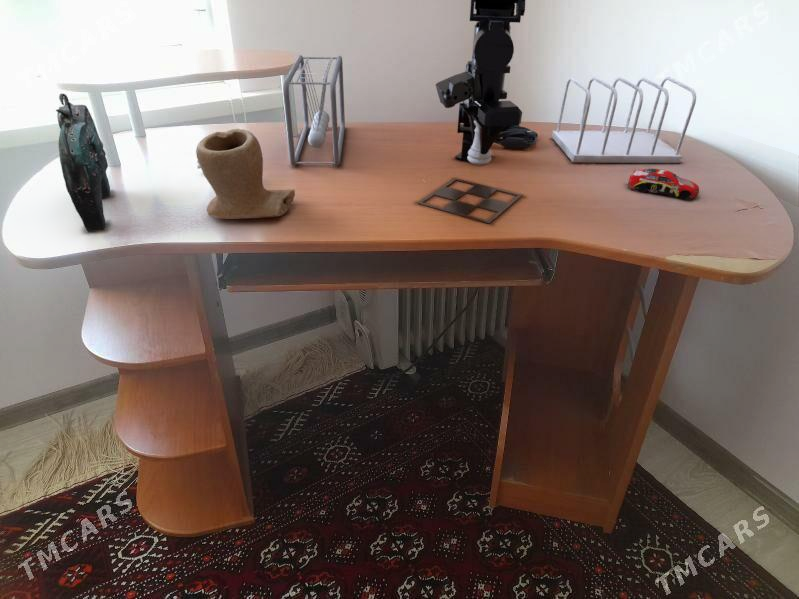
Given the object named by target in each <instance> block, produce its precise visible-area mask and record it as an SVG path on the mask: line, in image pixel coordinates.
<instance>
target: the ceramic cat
mask: <svg viewBox="0 0 799 599" xmlns="http://www.w3.org/2000/svg"><path fill="white" fill-rule="evenodd" d="M58 99H59V101H60V104H61V105H62V106H59V108H57V109H55V112H57V114H56V116H57V123H58V126H59V129H60V130H59V136H58V152H59V153H58V154H59V155H58V156H59V162H60V168H61V173H62V176H63V177H62V178H63V180H64V185H65V188H66V191H67V193H68V195H69V197H70V199H71V203H72V204H73V206H74V209H75V211H76V212H77V214H78V216H79V217H80V219H81V221H82V224H83V227H84V229H85V230H86V232H89V233H90V232H97V231H105V229H106V226H107V223H106V218H105V212H104V203H103V199H106V198H110V197H111V185H110V181H109V178H108V176H107V170H108V167H109V164H108V159H107V156H106V151H105V149H104V144H103V141H102V139H101V137H100V136H99V133H98V129H97V128H96V125H95V121H94V119H93V117H92V114H91V113H90V110H89V108H88V107H87V105H85V104H73V103H71V102H70V101H69V98H68V96H67V94H66V93H59V96H58Z"/></svg>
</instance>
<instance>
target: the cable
mask: <svg viewBox="0 0 799 599" xmlns="http://www.w3.org/2000/svg"><path fill="white" fill-rule="evenodd" d="M538 137H539V134H538V132H536V131H534V130H531V129H530V128H528V127H525V126H521V125H520V124H519V125H509V126H504V128H503V129H502V131H501V132H500V133H499V135H498V137H497V138H496V140H495V141H494V143H493V144H495V145H496V144H498V145H500V146H501V147H503V149H513V150H523V149H526V148H530V147H532V146H534V144H535V143H536V142H537V140H538Z"/></svg>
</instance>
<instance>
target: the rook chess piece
mask: <svg viewBox="0 0 799 599" xmlns="http://www.w3.org/2000/svg"><path fill="white" fill-rule="evenodd" d="M477 116H478V115H477ZM474 123H475V125H476V129H475V130H474V131H475V137H474V141H473V145H472V146H471V149H470V150H469V151H468V155H469V156H468V157H467V159H468V161H469V163H470V164H473V165H479V166H482V165H487V164H489V163H490V162H491V161H492V157H490V156H491V155H492V156H493V153H492V151H491V150H492V149H491V148H490V149H489V151H488V153H487V154H481V153H480V134H479V124H478V123H477V122H476V121H474Z"/></svg>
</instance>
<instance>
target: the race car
mask: <svg viewBox="0 0 799 599" xmlns="http://www.w3.org/2000/svg"><path fill="white" fill-rule="evenodd" d="M627 185H628V186H629V187H631V188H633V189H635V190H638V191H639V192H640V193H645V192H649V193H655V194H659V195H660V194H661V195H666V196H670V197H671V196H672V197H677V198H678V197H679V198H680V199H681V200H685V201H686V200H688V199H689V198H690V199H693V198H696V197H697V196H698V195H699V193H700V186H699V185H698V184H697V183H696V182H694V181H692V180H689V179H686V178H683V177H680V176H678V175H677V174H676V173H674V172H673V171H670V170H667V169H660V168H644V169H635V170H633V172H632V174H631V175H629V178H628V181H627Z"/></svg>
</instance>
